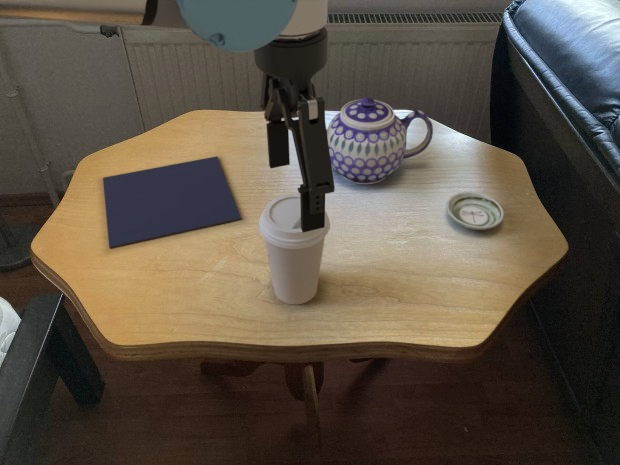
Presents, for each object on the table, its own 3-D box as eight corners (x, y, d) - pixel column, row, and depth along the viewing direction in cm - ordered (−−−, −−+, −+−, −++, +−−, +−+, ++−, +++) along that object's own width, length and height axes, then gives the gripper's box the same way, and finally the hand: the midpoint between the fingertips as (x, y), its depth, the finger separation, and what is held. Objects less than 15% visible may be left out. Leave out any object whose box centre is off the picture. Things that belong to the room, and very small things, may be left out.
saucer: (455, 240, 85) (458, 230, 84) (436, 204, 92) (438, 193, 91) (510, 235, 86) (514, 224, 85) (487, 199, 93) (490, 188, 92)
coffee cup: (291, 323, 72) (289, 248, 62) (251, 285, 78) (243, 209, 67) (340, 290, 77) (345, 214, 67) (299, 256, 82) (298, 181, 72)
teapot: (420, 147, 106) (432, 79, 96) (433, 193, 95) (449, 121, 84) (298, 147, 106) (298, 78, 96) (298, 193, 94) (297, 121, 84)
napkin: (109, 248, 83) (109, 246, 83) (103, 179, 97) (102, 177, 97) (241, 219, 89) (241, 218, 89) (217, 157, 103) (217, 156, 102)
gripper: (377, 74, 43) (361, 252, 58) (288, -16, 60) (292, 138, 75) (292, 88, 41) (297, 268, 56) (225, -9, 59) (242, 148, 73)
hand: (294, 194), depth 65 cm, fingers open, 13 cm apart
